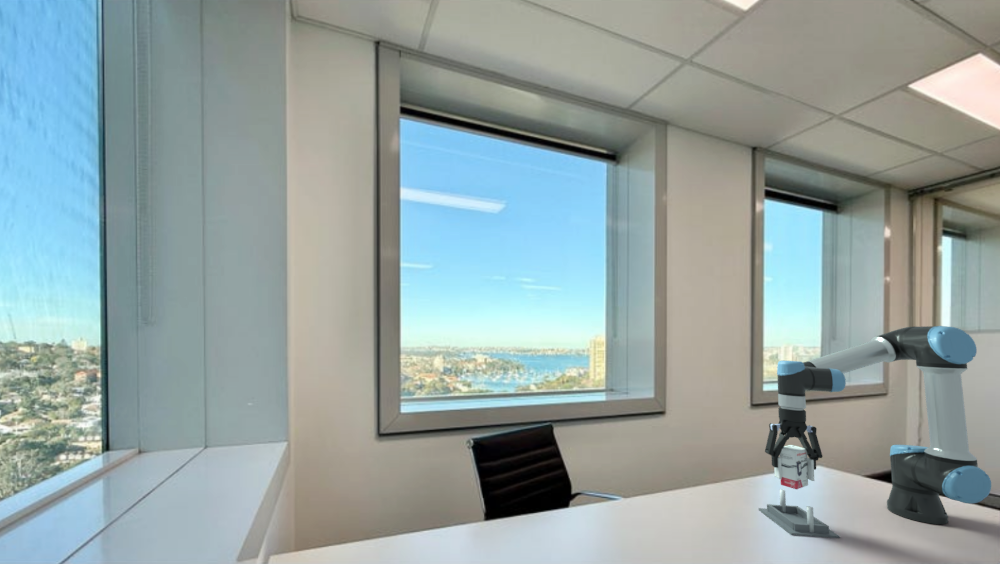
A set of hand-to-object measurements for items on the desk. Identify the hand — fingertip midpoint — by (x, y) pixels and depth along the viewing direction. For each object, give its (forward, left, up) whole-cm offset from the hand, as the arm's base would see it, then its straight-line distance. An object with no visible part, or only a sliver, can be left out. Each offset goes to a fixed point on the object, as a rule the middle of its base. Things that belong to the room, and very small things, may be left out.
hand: (794, 478), depth 139 cm
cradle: (0, 0, -14) cm, 14 cm away
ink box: (0, 0, -2) cm, 2 cm away
